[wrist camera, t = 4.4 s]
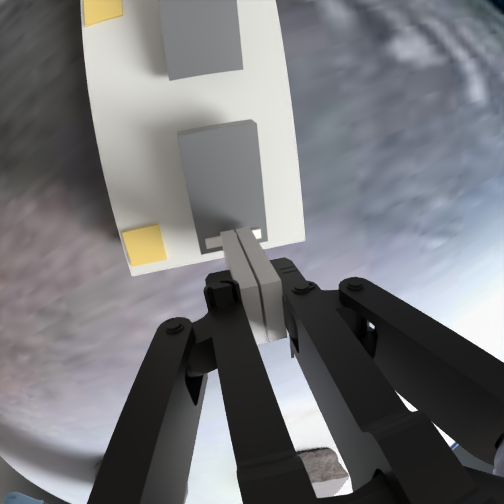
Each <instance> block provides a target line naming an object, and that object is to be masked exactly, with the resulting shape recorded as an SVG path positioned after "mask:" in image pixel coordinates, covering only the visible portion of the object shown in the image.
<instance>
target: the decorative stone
mask: <svg viewBox="0 0 504 504" xmlns="http://www.w3.org/2000/svg"><path fill="white" fill-rule="evenodd" d="M297 455H299V456H300V457H301V459H302V461H303V463H304V466H305V468H306V471H307V473H308V476H309V478H310V481H311V483H312V486H313V488H314V491H315V494H316V496H317V498H323V497H332V496H334V494H336V493H337V492H338V491H339V490H340V488H341V487H342V486H343V484H344V483H345V482H346V480H348V477H349V475H348V473H347V472H346V471H345V470H344V469H343V467H342V466H341V464H340V463H339V462H338V457H337V454H336V453H335V452H334V451H333V450H332V449H329V448H325V449H316V450H310V451H303V452H298V453H297Z"/></svg>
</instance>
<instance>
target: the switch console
mask: <svg viewBox="0 0 504 504" xmlns="http://www.w3.org/2000/svg"><path fill="white" fill-rule="evenodd" d="M237 8H238V18H239V28H240V39H241V49H242V60H243V70H236V71H227V72H220V73H213V74H206V75H200V76H194V77H188V78H183V79H177V80H172V81H169V76H168V70H167V63H166V57H165V50H164V43H163V36H162V28H161V21H160V13H159V5H158V0H81V21H82V36H83V48H84V58H85V68H86V76H87V84H88V91H89V98H90V105H91V111H92V117H93V123H94V129H95V134H96V139H97V144H98V149H99V154H100V159H101V164H102V168H103V173H104V177H105V182H106V186H107V190H108V194H109V198H110V202H111V206H112V210H113V214H114V217H115V221H116V225H117V228H118V232H119V235H120V239H121V242H122V246H123V249H124V252H125V256H126V259H127V262H128V265H129V268H130V271H131V275H132V276H136V275H141V274H146V273H151V272H156V271H161V270H165V269H170V268H175V267H180V266H185V265H190V264H195V263H199V262H204V261H209V260H214V259H219V258H224V251H223V250H222V251H217V252H213V253H208V254H203V255H201V252H200V248H199V243H198V239H197V234H196V229H195V225H194V220H193V215H192V211H191V206H190V201H189V196H188V191H187V186H186V181H185V176H184V171H183V166H182V161H181V155H180V150H179V145H178V139H177V131H182V130H187V129H193V128H198V127H203V126H209V125H215V124H221V123H227V122H234V121H241V120H248V119H252V120H253V121H254V122H256V123H257V130H258V140H259V150H260V160H261V170H262V180H263V191H264V202H265V212H266V224H267V235H268V241H267V242H262V243H259V244H260V246H261V247H262V249H267V248H272V247H277V246H282V245H287V244H292V243H297V242H301V241H305V231H304V219H303V207H302V196H301V185H300V175H299V165H298V155H297V146H296V137H295V129H294V120H293V112H292V104H291V97H290V89H289V82H288V75H287V68H286V61H285V55H284V48H283V42H282V36H281V30H280V24H279V18H278V12H277V6H276V1H275V0H237Z"/></svg>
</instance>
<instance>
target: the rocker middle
mask: <svg viewBox="0 0 504 504" xmlns="http://www.w3.org/2000/svg"><path fill="white" fill-rule="evenodd" d="M158 5H159V13H160V21H161V28H162V36H163V43H164V50H165V57H166V63H167V70H168V76H169V81H172V80H177V79H183V78H188V77H194V76H200V75H206V74H213V73H220V72H227V71H236V70H243V60H242V49H241V39H240V28H239V18H238V8H237V0H158Z"/></svg>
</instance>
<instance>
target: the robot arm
mask: <svg viewBox="0 0 504 504" xmlns="http://www.w3.org/2000/svg"><path fill="white" fill-rule="evenodd" d="M236 234H237V237H236ZM236 234H235V232H234V230H229V231H224V232H220V235H221V241H222V246H223V251H224V257H225V262H226V267H227V270H225V271H220V272H215V273H210V274H209V275H208V276H207V278H206V279H205V281H206V287H205V288H204V295H205V299H206V303H207V308H208V313H207V314H206V315H205V316H204V317H203V318H201V319H200V320H198V321H195V322H193V323H192V322H191V321H190V320H189V319H187V318H184V317H176V318H171V319H168V320H166V321H165V322H163V323H162V324H161V325H160V326H159V327H158V329H157V331H156V333H155V335H154V337H153V340H152V342H151V344H150V346H149V349H148V351H147V353H146V355H145V358H144V360H143V362H142V365H141V367H140V369H139V372H138V374H137V376H136V379H135V381H134V383H133V386H132V388H131V390H130V393H129V395H128V398H127V400H126V402H125V405H124V407H123V410H122V412H121V415H120V417H119V420H118V422H117V425H116V427H115V430H114V432H113V435H112V437H111V440H110V442H109V445H108V447H107V450H106V453H105V455H104V458H103V461H100V462H99V463H98V464H97V465H96V466H95V470H94V485H93V488H92V491H91V494H90V496H89V499H88V502H87V504H185V501H186V498H187V494H188V483H187V482H188V476H189V471H190V466H191V461H192V455H193V450H194V445H195V440H196V434H197V429H198V424H199V419H200V414H201V409H202V404H203V399H204V394H205V389H206V384H207V379H208V375H207V373H208V372H211V371H213V370H215V369H217V368H218V373H219V379H220V384H221V390H222V395H223V401H224V406H225V411H226V416H227V421H228V426H229V431H230V436H231V441H232V446H233V450H234V455H235V460H236V465H237V471H236V472H237V479H238V484H239V488H240V492H241V497H242V501H243V504H504V363H503V362H502V361H500V360H499V359H497V358H495V357H494V356H492V355H491V354H489V353H488V352H486V351H484V350H483V349H481V348H480V347H478V346H476V345H475V344H473V343H472V342H470V341H468V340H467V339H465V338H464V337H462V336H460V335H459V334H457V333H456V332H454V331H452V330H451V329H449V328H447V327H446V326H444V325H442V324H441V323H439V322H438V321H436V320H434V319H433V318H431V317H429V316H428V315H426V314H424V313H423V312H421V311H419V310H418V309H416V308H414V307H413V306H411V305H409V304H408V303H406V302H404V301H403V300H401V299H399V298H398V297H396V296H394V295H392V294H391V293H389V292H387V291H386V290H384V289H382V288H380V287H379V286H377V285H375V284H374V283H372V282H370V281H368V280H366V279H364V278H358V277H351V278H347V279H344V280H343V281H341V282H340V284H339V290H321V289H320V288H319V286H318V285H317V284H315V283H314V282H311V281H306V280H305V278H304V277H303V276H302V274H301V273H300V271H298V269H297V267H295V265H294V263H293V262H292V261H291V260H289V259H287V258H285V257H284V258H279V259H274V260H269V259H268V257H267V256H266V254H265V252H264V251H263V249H262V247H261V246H260V244H259V242H258V241H257V239H256V237H255V236H254V234H253V232H252V231H251V229H250V227H244V228H239V229H236ZM369 323H372V324H373V325H374V326H375V328H374V329H373V328H371V327H370V326H369ZM286 328H287V330H288V333H289V336H290V348H291V358H294V354H295V356H296V358H297V360H298V363H299V365H300V367H301V369H302V371H303V374H304V376H305V378H306V380H307V382H308V385H309V387H310V389H311V391H312V393H313V396H314V398H315V400H316V402H317V404H318V407H319V409H320V411H321V413H322V415H323V418H324V420H325V422H326V424H327V426H328V429H329V431H330V433H331V435H332V437H333V440H334V442H335V444H336V446H337V448H338V450H339V453H340V455H341V457H342V459H343V461H344V464H345V466H346V468H347V470H348V472H349V475H350V478H351V482H352V489H353V493H350V494H347V495H340V496H332V497H323V498H317V496H316V494H315V491H314V488H313V486H312V483H311V481H310V478H309V476H308V473H307V471H306V468H305V466H304V463H303V461H302V459H301V457H300V456H299V455H297V453H296V451H295V449H294V446H293V444H292V441H291V438H290V436H289V433H288V430H287V427H286V425H285V422H284V419H283V417H282V414H281V411H280V408H279V406H278V403H277V400H276V397H275V395H274V392H273V389H272V386H271V383H270V381H269V378H268V375H267V372H266V369H265V366H264V364H263V361H262V358H261V355H260V352H259V349H258V347H257V344H262V343H266V337H265V332H266V335H267V337H268V340H269V342H270V341H274V340H278V339H282V338H286V337H287V332H286ZM264 329H265V330H264ZM395 391H396V392H397V393H398V394H400V395H401V396H402V397H403V398H404V399H406V400H407V401H408V402H409V403H410V404H411V405H413V406H414V407H415V408H416V409H417V410H418V411H414V412H411V411H409V410H408V409H407V407H406V406H405V404H404V403H403V402H402V400H401V399H400V397H399V396H398V395H397V393H396V392H395ZM431 421H432V422H433V423H434V424H435V425H436V426H438V427H439V428H440V429H441V430H442V431H444V432H445V433H446V434H447V435H448V436H449V437H451V438H452V439H453V440H454V441H455V442H457V443H458V444H459V445H460V446H462V447H463V448H464V449H465V450H467V451H468V452H469V453H471V454H472V455H474V456H475V457H477V458H479V459H480V460H482V461H484V462H486V463H488V464H491V465H494V467H495V469H494V470H493V474H489V473H486V472H482V471H479V470H475V469H472V468H468V467H465V466H462V464H461V463H460V461H459V460H458V458H457V457H456V455H455V454H454V453H453V451H452V450H451V448H450V447H449V445H448V444H447V443H446V441H445V440H444V438H443V437H442V435H441V434H440V433H439V431H438V430H437V428H436V427H435V426H434V424H433V423H432V422H431ZM3 504H46V503H44V501H42V500H36V499H33V498H31V497H28V496H26V495H24V494H21V493H18V492H12V493H9V494H8V495H7V496H6V498H5V500H4V502H3Z"/></svg>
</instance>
